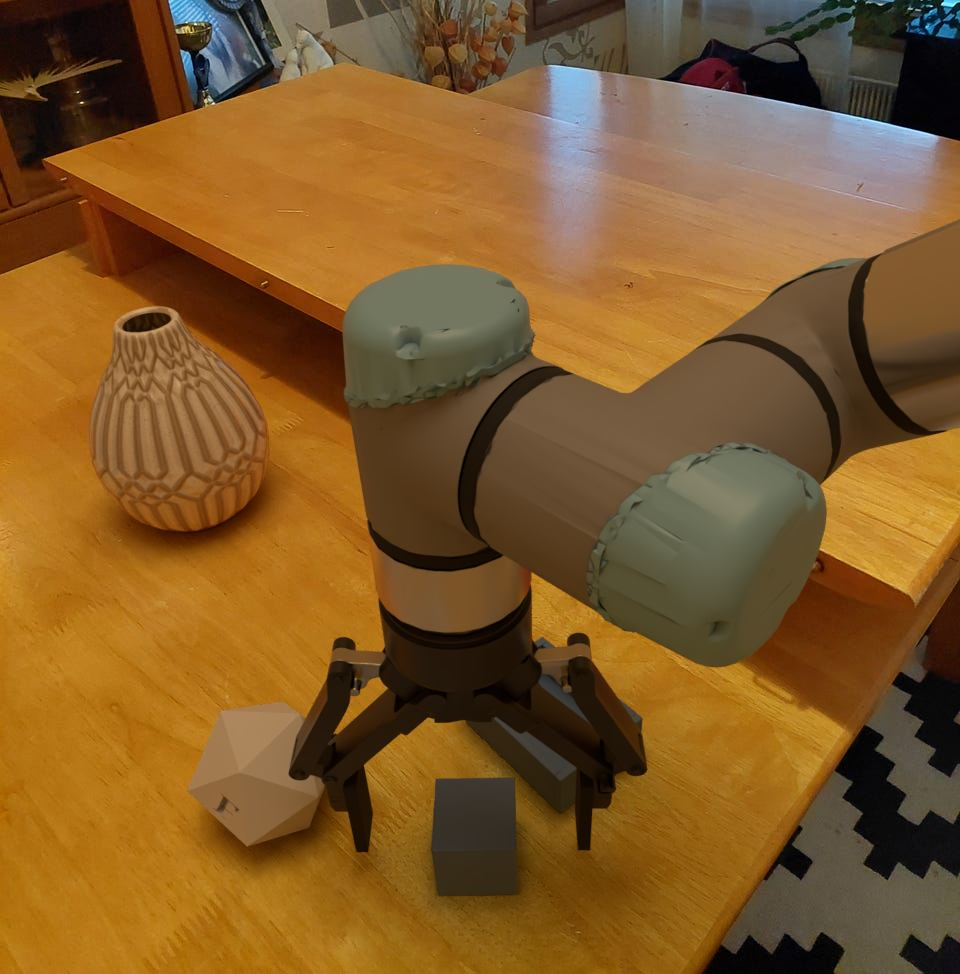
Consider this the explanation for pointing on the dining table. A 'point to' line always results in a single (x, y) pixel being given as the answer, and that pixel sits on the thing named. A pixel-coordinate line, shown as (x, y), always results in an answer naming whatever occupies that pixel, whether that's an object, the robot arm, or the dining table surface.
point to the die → (255, 774)
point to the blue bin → (539, 748)
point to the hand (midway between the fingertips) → (473, 832)
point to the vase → (175, 426)
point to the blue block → (475, 836)
